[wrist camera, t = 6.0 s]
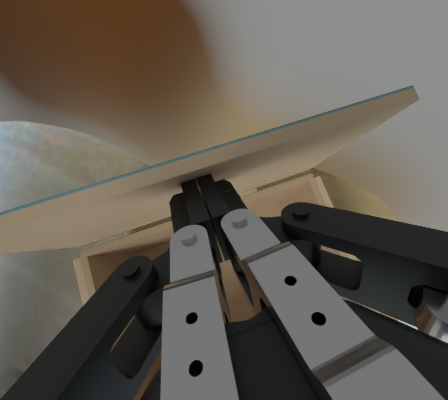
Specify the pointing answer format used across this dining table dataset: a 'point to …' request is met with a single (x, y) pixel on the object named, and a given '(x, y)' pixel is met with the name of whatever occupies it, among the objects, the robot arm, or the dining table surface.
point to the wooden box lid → (187, 170)
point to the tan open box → (161, 235)
